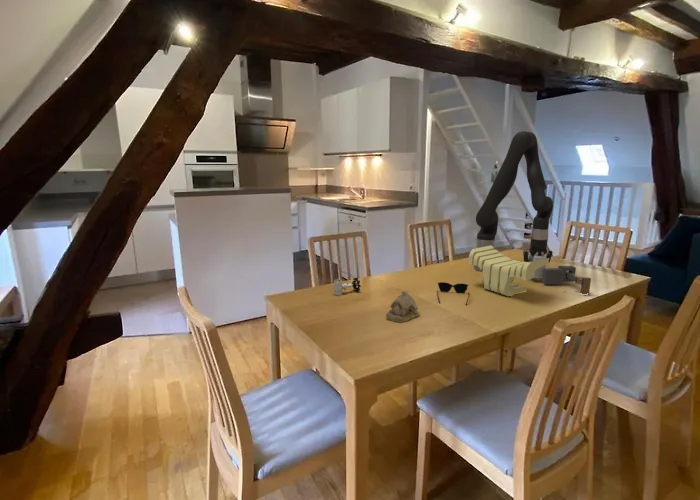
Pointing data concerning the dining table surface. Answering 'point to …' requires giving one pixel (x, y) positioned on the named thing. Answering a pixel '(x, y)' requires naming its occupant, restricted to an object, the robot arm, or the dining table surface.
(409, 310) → the ceramic model
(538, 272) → the small box
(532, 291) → the dining table surface
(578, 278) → the brown l-shaped piece
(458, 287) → the sunglasses
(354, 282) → the valve
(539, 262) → the slatted curved stool
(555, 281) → the collar
